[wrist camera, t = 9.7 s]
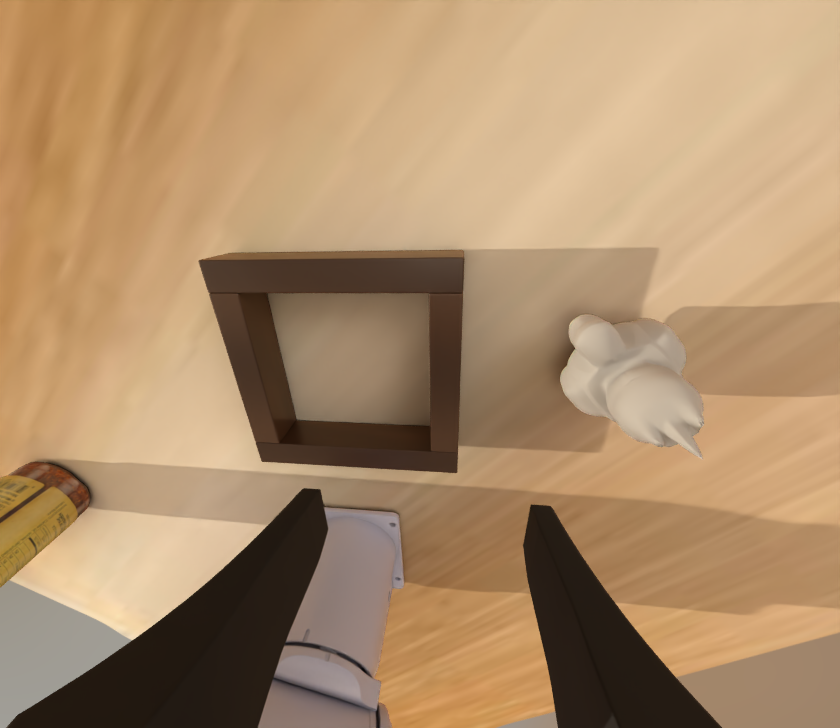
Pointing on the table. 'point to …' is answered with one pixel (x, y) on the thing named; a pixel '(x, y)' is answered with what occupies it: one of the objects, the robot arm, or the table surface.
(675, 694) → the robot arm
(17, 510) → the sauce bottle
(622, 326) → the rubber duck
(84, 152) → the table surface
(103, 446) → the table surface
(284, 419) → the brown wooden square frame
